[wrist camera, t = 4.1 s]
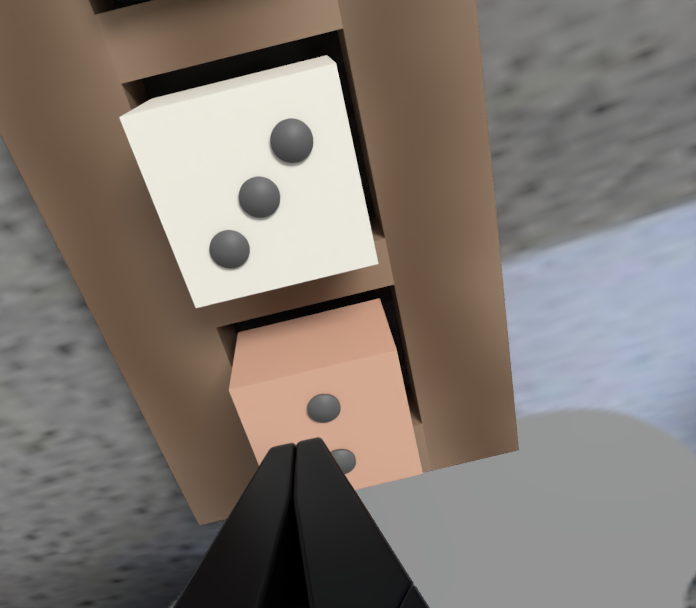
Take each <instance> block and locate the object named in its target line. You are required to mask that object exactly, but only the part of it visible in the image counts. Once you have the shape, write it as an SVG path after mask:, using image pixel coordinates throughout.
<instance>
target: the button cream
mask: <svg viewBox="0 0 696 608" xmlns="http://www.w3.org/2000/svg"><path fill="white" fill-rule="evenodd" d="M119 118H120V121H121V123H122V126H123V128H124V131H125V133H126V136H127V138H128V141H129V143H130V146H131V148H132V151H133V153H134V156H135V158H136V161H137V163H138V166H139V168H140V170H141V173H142V175H143V178H144V180H145V183H146V185H147V188H148V190H149V193H150V195H151V198H152V200H153V203H154V205H155V208H156V210H157V213H158V215H159V218H160V220H161V223H162V225H163V228H164V230H165V233H166V235H167V238H168V240H169V243H170V245H171V248H172V250H173V253H174V255H175V258H176V260H177V263H178V265H179V268H180V270H181V273H182V275H183V278H184V280H185V283H186V285H187V288H188V290H189V292H190V295H191V297H192V300H193V302H194V305H195V307H196V308H199V307H203V306H207V305H211V304H215V303H220V302H224V301H228V300H232V299H236V298H240V297H244V296H248V295H253V294H257V293H261V292H265V291H269V290H273V289H277V288H281V287H286V286H290V285H294V284H298V283H302V282H306V281H310V280H315V279H319V278H323V277H327V276H331V275H335V274H339V273H343V272H348V271H352V270H356V269H360V268H364V267H368V266H372V265H376V264H378V259H377V254H376V249H375V245H374V240H373V235H372V231H371V226H370V221H369V216H368V212H367V207H366V202H365V197H364V193H363V188H362V183H361V178H360V174H359V169H358V164H357V159H356V155H355V150H354V145H353V141H352V136H351V131H350V126H349V122H348V117H347V112H346V107H345V103H344V98H343V93H342V88H341V84H340V79H339V74H338V70H337V65H336V63H335V62H334V61H333V60H332V59H331V58H330V57H329V56H327V55H325V56H321V57H317V58H313V59H309V60H305V61H301V62H297V63H293V64H289V65H285V66H281V67H277V68H273V69H269V70H265V71H261V72H257V73H253V74H249V75H245V76H241V77H237V78H233V79H229V80H225V81H221V82H217V83H213V84H209V85H205V86H200V87H196V88H192V89H188V90H184V91H180V92H176V93H172V94H168V95H164V96H160V97H156V98H152V99H150V100H148V101H147V102H145V103H143V104H141V105H140V106H138V107H136V108H134V109H133V110H131V111H129V112H127V113H126V114H124V115H122V116H120V117H119Z"/></svg>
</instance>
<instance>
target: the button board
mask: <svg viewBox="0 0 696 608" xmlns="http://www.w3.org/2000/svg"><path fill="white" fill-rule="evenodd" d="M335 30H337V32H338V37H339V41H340V46H341V51H342V56H343V61H344V66H345V71H346V76H347V80H348V85H349V90H350V95H351V100H352V105H353V110H354V115H355V119H356V124H357V129H358V134H359V139H360V144H361V149H362V154H363V158H364V163H365V168H366V173H367V178H368V183H369V188H370V193H371V197H372V202H373V207H374V212H375V217H371V218H369V221H370V226H371V231H372V235H373V240H374V245H375V249H376V254H377V259H378V264H376V265H372V266H368V267H364V268H360V269H356V270H352V271H348V272H343V273H339V274H335V275H331V276H327V277H323V278H319V279H315V280H310V281H306V282H302V283H298V284H294V285H290V286H286V287H281V288H277V289H273V290H269V291H265V292H261V293H257V294H253V295H248V296H244V297H240V298H236V299H232V300H228V301H224V302H220V303H215V304H211V305H207V306H203V307H199V308H196V307H195V305H194V302H193V300H192V297H191V295H190V292H189V290H188V288H187V285H186V283H185V280H184V278H183V275H182V273H181V270H180V268H179V265H178V263H177V260H176V258H175V255H174V253H173V250H172V248H171V245H170V243H169V240H168V238H167V235H166V233H165V230H164V228H163V225H162V223H161V220H160V218H159V215H158V213H157V210H156V208H155V205H154V203H153V200H152V198H151V195H150V193H149V190H148V188H147V185H146V183H145V180H144V178H143V175H142V173H141V170H140V168H139V166H138V163H137V161H136V158H135V156H134V153H133V151H132V148H131V146H130V143H129V141H128V138H127V136H126V133H125V131H124V128H123V126H122V123H121V121H120V118H119V117H120V116H122V115H124V114H126V113H127V112H129V111H131V110H133V109H134V108H136V107H138V106H140V105H141V104H143V103H145V102H147V101H148V100H150V99H149V97H148V94H147V91H146V89H145V86H144V83H143V81H142V78H146V77H150V76H154V75H158V74H162V73H166V72H170V71H174V70H178V69H182V68H186V67H190V66H194V65H198V64H202V63H206V62H210V61H214V60H218V59H222V58H226V57H230V56H234V55H238V54H242V53H246V52H250V51H254V50H258V49H262V48H266V47H270V46H274V45H278V44H282V43H286V42H290V41H294V40H298V39H303V38H307V37H311V36H315V35H319V34H323V33H327V32H331V31H335ZM0 134H1V136H2V138H3V140H4V142H5V144H6V146H7V148H8V150H9V152H10V154H11V156H12V158H13V160H14V162H15V164H16V166H17V168H18V170H19V172H20V173H21V175H22V177H23V179H24V181H25V183H26V185H27V187H28V189H29V191H30V193H31V195H32V197H33V199H34V201H35V203H36V205H37V207H38V209H39V211H40V213H41V215H42V217H43V219H44V221H45V223H46V225H47V227H48V229H49V231H50V233H51V235H52V237H53V239H54V240H55V242H56V244H57V246H58V248H59V250H60V252H61V254H62V256H63V258H64V260H65V262H66V264H67V266H68V268H69V270H70V272H71V274H72V276H73V278H74V280H75V282H76V284H77V286H78V288H79V290H80V292H81V294H82V296H83V298H84V300H85V302H86V304H87V305H88V307H89V309H90V311H91V313H92V315H93V317H94V319H95V321H96V323H97V325H98V327H99V329H100V331H101V333H102V335H103V337H104V339H105V341H106V343H107V345H108V347H109V349H110V351H111V353H112V355H113V357H114V359H115V361H116V363H117V365H118V367H119V369H120V370H121V372H122V374H123V376H124V378H125V380H126V382H127V384H128V386H129V388H130V390H131V392H132V394H133V396H134V398H135V400H136V402H137V404H138V406H139V408H140V410H141V412H142V414H143V416H144V418H145V420H146V422H147V424H148V426H149V428H150V430H151V432H152V434H153V435H154V437H155V439H156V441H157V443H158V445H159V447H160V449H161V451H162V453H163V455H164V457H165V459H166V461H167V463H168V465H169V467H170V469H171V471H172V473H173V475H174V477H175V479H176V481H177V483H178V485H179V487H180V489H181V491H182V493H183V495H184V497H185V499H186V501H187V502H188V504H189V506H190V508H191V510H192V512H193V514H194V516H195V518H196V520H197V522H198V524H199V525H203V524H207V523H212V522H216V521H220V520H224V519H227V518H228V516H229V515H230V513H231V511H232V510H233V508H234V506H235V505H236V503H237V501H238V500H239V498H240V496H241V495H242V493H243V492H244V490H245V488H246V487H247V485H248V483H249V482H250V480H251V478H252V477H253V475H254V473H255V472H256V470H257V469H258V467H259V464H258V462H257V459H256V457H255V454H254V452H253V449H252V447H251V444H250V442H249V439H248V437H247V434H246V432H245V429H244V427H243V424H242V422H241V419H240V417H239V414H238V412H237V410H236V407H235V405H234V402H233V400H232V397H231V395H230V392H229V386H230V379H231V373H232V367H233V361H234V355H235V348H236V342H237V334H236V331H235V329H234V326H233V323H237V322H241V321H245V320H249V319H253V318H257V317H262V316H266V315H270V314H274V313H278V312H282V311H286V310H291V309H295V308H299V307H303V306H307V305H311V304H315V303H320V302H324V301H328V300H332V299H336V298H340V297H344V296H349V295H353V294H357V293H361V292H365V291H369V290H373V289H378V288H382V287H386V286H390V290H391V295H392V300H393V305H394V310H395V315H396V319H397V324H398V329H399V334H400V339H401V344H402V349H403V354H404V358H405V363H406V368H407V373H408V378H409V383H410V388H411V390H407V391H406V396H407V401H408V406H409V410H410V415H411V420H412V425H413V429H414V434H415V439H416V444H417V448H418V453H419V458H420V462H421V467H422V472H423V473H424V472H428V471H432V470H436V469H440V468H445V467H449V466H453V465H458V464H462V463H466V462H470V461H475V460H479V459H483V458H487V457H491V456H496V455H500V454H504V453H509V452H513V451H517V450H519V447H518V436H517V427H516V415H515V405H514V394H513V384H512V373H511V363H510V352H509V342H508V331H507V320H506V310H505V299H504V289H503V278H502V268H501V257H500V247H499V236H498V226H497V215H496V205H495V194H494V183H493V173H492V162H491V152H490V141H489V131H488V120H487V110H486V99H485V89H484V78H483V67H482V57H481V46H480V36H479V25H478V15H477V4H476V0H152V1H148V2H144V3H140V4H136V5H132V6H128V7H124V8H120V9H116V8H115V5H114V2H113V0H0Z"/></svg>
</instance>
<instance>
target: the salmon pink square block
mask: <svg viewBox="0 0 696 608" xmlns="http://www.w3.org/2000/svg"><path fill="white" fill-rule="evenodd" d="M229 392H230V395H231V397H232V400H233V402H234V405H235V407H236V410H237V412H238V414H239V417H240V419H241V422H242V424H243V427H244V429H245V432H246V434H247V437H248V439H249V442H250V444H251V447H252V449H253V452H254V454H255V457H256V459H257V462H258V464H259V465H260V464H261V462H262V460H263V459H264V457H265V455H266V454H267V452H268V451H269V449H270V448H272V447H274V446H278V445H283V444H288V443H294V444H296V445H297V443H298V442H299V441H302V440H307V439H312V438H316V437H320V438H322V439H323V441H324V442H325V444H326V445H327V447H328V448H329V450H330V452H331V453H332V455H333V456H334V458H335V460H336V461H337V463H338V464H339V466H340V467H341V469H342V471H343V472H344V474H345V475H346V477H347V479H348V480H349V482H350V483H351V485H352V486H353V488H354V490H357V489H361V488H365V487H369V486H374V485H378V484H382V483H386V482H390V481H395V480H399V479H403V478H408V477H412V476H416V475H420V474H423V472H422V467H421V462H420V458H419V453H418V448H417V444H416V439H415V434H414V429H413V425H412V420H411V415H410V410H409V406H408V401H407V396H406V391H405V387H404V382H403V377H402V373H401V368H400V363H399V358H398V354H397V349H396V346H395V343H394V340H393V337H392V334H391V331H390V328H389V325H388V322H387V319H386V316H385V313H384V310H383V307H382V304H381V301H380V298H379V299H375V300H371V301H367V302H362V303H358V304H354V305H350V306H346V307H342V308H338V309H333V310H329V311H325V312H321V313H317V314H313V315H309V316H304V317H300V318H296V319H292V320H288V321H284V322H279V323H275V324H271V325H267V326H263V327H259V328H255V329H250V330H246V331H242V332H238V336H237V342H236V348H235V355H234V361H233V367H232V373H231V379H230V386H229Z"/></svg>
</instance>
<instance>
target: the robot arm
mask: <svg viewBox="0 0 696 608" xmlns="http://www.w3.org/2000/svg"><path fill="white" fill-rule="evenodd" d="M173 608H429V606H428V604H427V603H426V601H425V600H424V598H423V597H422V595H421V593H420V592H419V591H418V589H417V587H416V586H414V584H413V581H412V580H411V578H410V577H409V575H408V574H407V572H406V570H405V569H404V567H403V566H402V564H401V562H400V561H399V559H398V558H397V556H396V554H395V553H394V551H393V550H392V548H391V547H390V545H389V544H388V542H387V540H386V539H385V537H384V536H383V534H382V532H381V531H380V529H379V528H378V526H377V525H376V523H375V521H374V520H373V518H372V517H371V515H370V514H369V512H368V510H367V509H366V507H365V506H364V504H363V502H362V501H361V499H360V498H359V496H358V494H357V493H356V491H355V490H354V488H353V486H352V485H351V483H350V482H349V480H348V479H347V477H346V475H345V474H344V472H343V471H342V469H341V467H340V466H339V464H338V463H337V461H336V460H335V458H334V456H333V455H332V453H331V452H330V450H329V448H328V447H327V445H326V444H325V442H324V441H323V439H322V438H320V437H316V438H312V439H307V440H302V441H299V442H298V443H297V445H296V444H294V443H288V444H283V445H278V446H274V447H272V448H270V449H269V451H268V452H267V454H266V455H265V457H264V459H263V460H262V462H261V464H260V465H259V467H258V469H257V470H256V472H255V473H254V475H253V477H252V478H251V480H250V482H249V483H248V485H247V487H246V488H245V490H244V492H243V493H242V495H241V496H240V498H239V500H238V501H237V503H236V505H235V506H234V508H233V510H232V511H231V513H230V515H229V516H228V518H227V519H226V521H225V523H224V524H223V526H222V528H221V529H220V531H219V533H218V534H217V536H216V538H215V539H214V541H213V542H212V544H211V546H210V547H209V549H208V551H207V552H206V554H205V556H204V557H203V559H202V560H201V562H200V564H199V565H198V567H197V569H196V570H195V572H194V574H193V575H192V577H191V579H190V580H189V582H188V583H187V585H186V587H185V588H184V590H183V592H182V593H181V595H180V597H179V598H178V600H177V602H176V603H175V605H174V606H173Z"/></svg>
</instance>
